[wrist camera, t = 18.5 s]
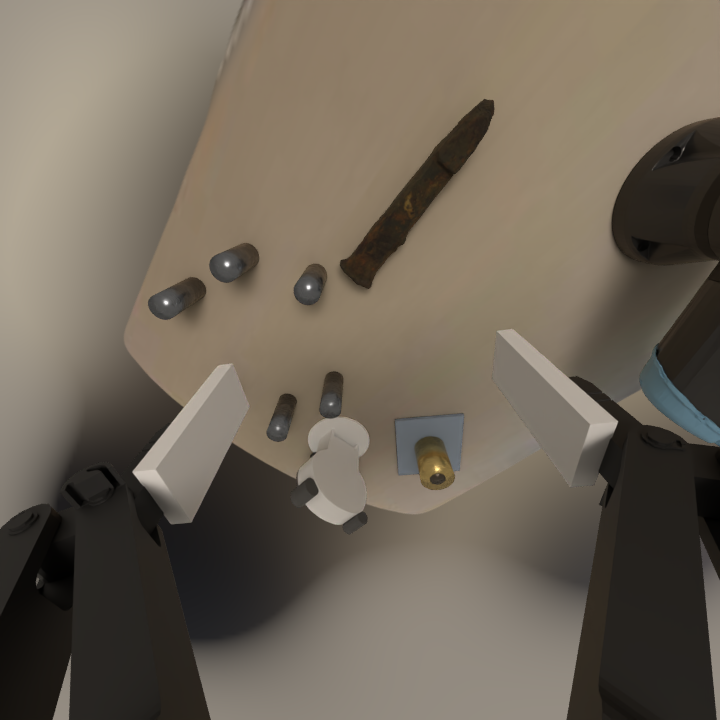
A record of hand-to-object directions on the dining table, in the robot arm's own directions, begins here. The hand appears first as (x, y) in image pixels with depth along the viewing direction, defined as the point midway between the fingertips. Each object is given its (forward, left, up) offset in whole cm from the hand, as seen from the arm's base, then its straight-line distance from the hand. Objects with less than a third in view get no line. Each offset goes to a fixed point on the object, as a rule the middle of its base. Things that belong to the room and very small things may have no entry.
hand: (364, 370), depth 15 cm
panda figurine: (+8, +31, -28) cm, 43 cm away
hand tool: (-6, -7, -29) cm, 30 cm away
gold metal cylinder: (-9, +35, -28) cm, 45 cm away
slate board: (-9, +35, -28) cm, 46 cm away
